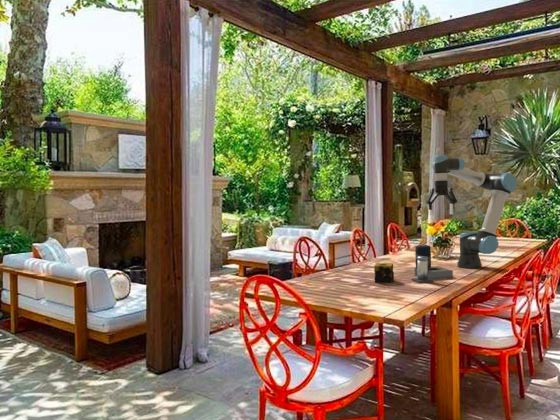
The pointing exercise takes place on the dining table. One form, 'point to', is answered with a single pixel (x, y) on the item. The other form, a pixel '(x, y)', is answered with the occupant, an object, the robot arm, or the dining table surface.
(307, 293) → the dining table surface
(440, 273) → the housing
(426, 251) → the canister
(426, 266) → the silver metal cylinder
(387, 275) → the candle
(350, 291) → the dining table surface
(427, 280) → the coaster
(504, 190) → the robot arm
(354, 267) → the dining table surface
